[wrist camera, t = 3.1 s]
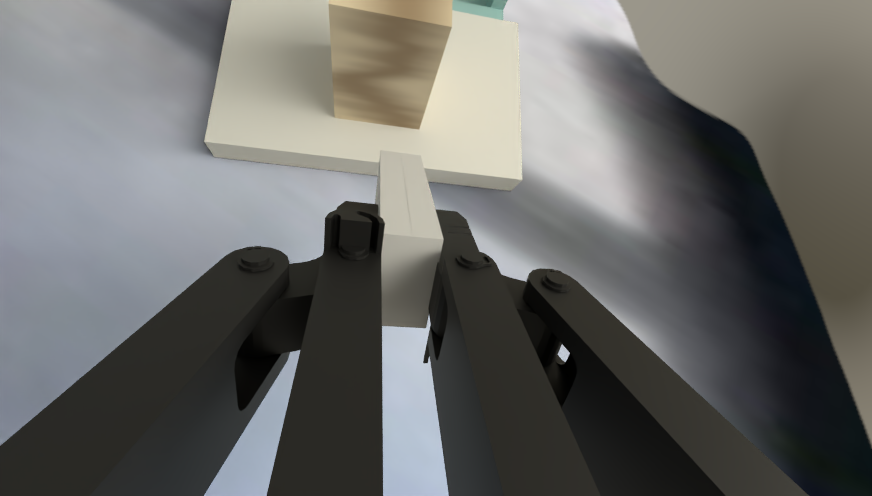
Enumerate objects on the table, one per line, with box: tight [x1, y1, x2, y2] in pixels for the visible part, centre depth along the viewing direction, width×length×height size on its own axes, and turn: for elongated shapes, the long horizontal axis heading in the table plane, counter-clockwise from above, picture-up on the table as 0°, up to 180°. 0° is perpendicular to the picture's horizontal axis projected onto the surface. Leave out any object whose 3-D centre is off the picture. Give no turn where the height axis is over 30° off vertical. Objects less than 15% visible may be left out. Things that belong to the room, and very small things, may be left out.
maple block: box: [328, 0, 453, 129], centre depth 23 cm, size 6×6×9 cm
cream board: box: [204, 0, 522, 191], centre depth 29 cm, size 20×13×2 cm, turn 88°
